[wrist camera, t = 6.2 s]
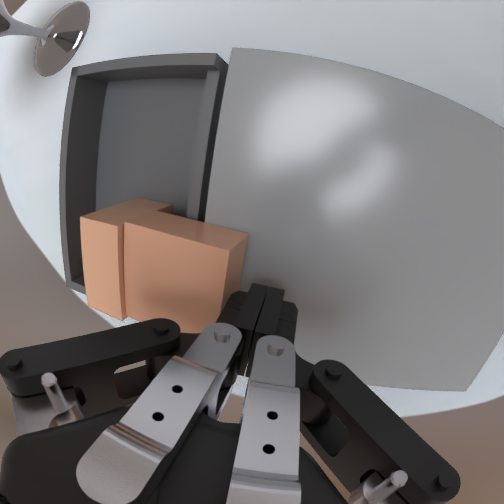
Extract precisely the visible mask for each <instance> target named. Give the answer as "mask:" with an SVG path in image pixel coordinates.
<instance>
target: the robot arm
mask: <svg viewBox="0 0 504 504" xmlns="http://www.w3.org/2000/svg"><path fill="white" fill-rule="evenodd" d="M267 291H268V292H267ZM284 293H285V290H284V289H279V288H275V287H270V286H269V289H268V286H266V285H261V284H257V283H252V285H251V287H250V289H249V291H248V292H244V291H240V290H238V291H236V292H235V293H233V294H231V296H230V297H229V299H228V301H227V303H226V305H225V307H224V308H223V310H222V312H221V313H220V315H219V317H218V319H217V321H216V322H215V323H213V324H210V325H208V326H206V327H205V328H204V329H203V331H202V332H201V333H182V332H181V329H180V326H179V325H178V324H177V323H176V322H174V321H173V320H170V319H166V318H155V319H151V320H147V321H142V322H138V323H134V324H130V325H126V326H122V327H118V328H113V329H109V330H105V331H101V332H96V333H92V334H87V335H83V336H78V337H74V338H69V339H64V340H60V341H55V342H51V343H45V344H40V345H35V346H30V347H24V348H20V349H14V350H10V351H8V352H6V353H5V354H4V355H3V356H2V357H1V358H0V374H1V376H2V378H3V380H4V382H5V384H6V385H7V389H8V391H9V392H10V394H11V396H12V401H13V408H14V414H15V419H16V426H17V430H18V435H19V437H17V438H16V439H14V440H13V441H12V442H11V443H10V444H9V445H8V447H7V448H6V450H5V452H4V454H3V457H2V464H1V472H0V504H445V503H446V502H448V501H449V500H451V499H452V498H453V497H455V496H456V494H457V493H458V491H459V489H460V477H459V474H458V473H457V471H456V470H455V469H454V468H453V467H452V466H451V465H450V464H449V463H448V462H447V461H446V460H444V459H443V458H442V457H441V456H440V455H439V454H438V453H437V452H436V451H435V450H434V449H433V448H432V447H430V446H429V445H428V444H427V443H426V442H425V441H424V440H423V439H422V438H421V437H420V436H419V435H418V434H417V433H416V432H415V431H414V430H412V429H411V428H410V427H409V426H408V425H407V424H406V423H405V422H404V421H403V420H402V419H401V418H400V417H399V416H398V415H397V414H396V413H395V412H394V411H393V410H391V409H390V408H389V407H388V406H387V405H386V404H385V403H384V402H383V401H382V400H381V399H380V398H379V397H378V396H377V395H376V394H375V393H374V392H373V391H372V390H371V389H370V388H369V387H368V386H367V385H365V384H364V383H363V382H362V381H361V380H360V379H359V378H358V377H357V376H356V375H355V374H354V373H353V372H352V371H351V370H350V369H349V368H348V367H347V366H346V365H344V364H343V363H341V362H339V361H336V360H330V359H326V360H321V361H319V362H317V363H316V364H315V365H314V364H312V363H310V362H308V361H306V360H304V359H302V358H301V357H300V356H299V355H298V354H297V353H296V351H295V347H294V341H295V333H296V323H297V316H298V309H297V307H296V305H295V303H292V302H288V301H283V298H284ZM143 360H145V362H146V365H144V366H141V367H137V368H134V369H130V370H127V371H123V372H120V373H116V374H114V372H115V371H116V369H118V368H120V367H122V366H126V365H129V364H133V363H137V362H140V361H143ZM247 364H248V366H247ZM246 367H247V371H246V375H245V376H246V377H249V380H248V384H247V388H246V393H245V398H244V403H243V408H242V413H241V418H240V422H239V424H237V423H236V424H235V423H222V422H219V421H217V419H218V417H219V415H220V413H221V411H222V409H223V407H224V405H225V403H226V401H227V399H228V397H229V395H230V393H231V391H232V388H233V384H234V383H235V381H236V378H237V375H241V376H244V373H245V370H246ZM337 417H338V418H337ZM345 426H346V427H345ZM300 432H301V433H302V435H303V436H304V437H305V438H306V440H307V441H308V442H309V444H310V445H311V446H312V447H313V448H314V450H315V451H316V452H317V454H318V455H319V456H320V457H321V459H322V460H323V461H324V462H325V464H326V465H327V466H328V467H329V469H330V470H331V471H332V472H333V473H334V475H335V476H336V477H337V478H338V479H339V480H340V482H341V483H342V484H343V485H344V486H345V488H346V489H347V490H348V491H349V492H350V493H351V494H350V496H349V500H348V503H347V501H346V500H345V499H344V498H343V496H342V495H341V494H340V492H338V490H337V489H336V487H335V486H334V485H333V483H332V482H331V481H330V480H329V478H328V477H327V476H326V474H325V473H324V471H323V470H322V469H321V467H320V466H319V465H318V464H317V462H316V461H315V459H314V458H313V457H312V456H311V455H310V454H309V453H308V452H306V451H305V450H304V449H303V448H301V447H300V446H299V436H300V435H299V434H300Z"/></svg>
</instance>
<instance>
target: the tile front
mask: <svg viewBox="0 0 504 504" xmlns="http://www.w3.org/2000/svg"><path fill="white" fill-rule="evenodd" d="M248 235H249V234H248V233H244V232H240V231H236V230H232V229H229V228H225V227H221V226H217V225H213V224H209V223H205V222H201V221H197V220H193V219H189V218H185V217H181V216H177V215H173V214H169V213H164V212H160V211H156V210H155V211H152V212H149V213H146V214H144V215H141V216H138V217H135V218H133V219H130V220H127V221H125V222H124V284H125V304H126V316H128V317H130V318H133V319H135V320H137V321H139V322H142V321H147V320H151V319H155V318H166V319H170V320H173V321H174V322H176V323H177V324H178V325H179V326H180V329H181V332H182V333H201V332H202V331H203V329H204V328H205V327H206V326H208V325H210V324H213V323H215V322H216V321H217V319H218V317H219V315H220V313H221V312H222V310H223V308H224V307H225V305H226V303H227V301H228V299H229V297H230V296H231V294H233V293H235V292H236V291H238V290H239V285H240V279H241V274H242V268H243V263H244V257H245V252H246V246H247V241H248Z"/></svg>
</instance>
